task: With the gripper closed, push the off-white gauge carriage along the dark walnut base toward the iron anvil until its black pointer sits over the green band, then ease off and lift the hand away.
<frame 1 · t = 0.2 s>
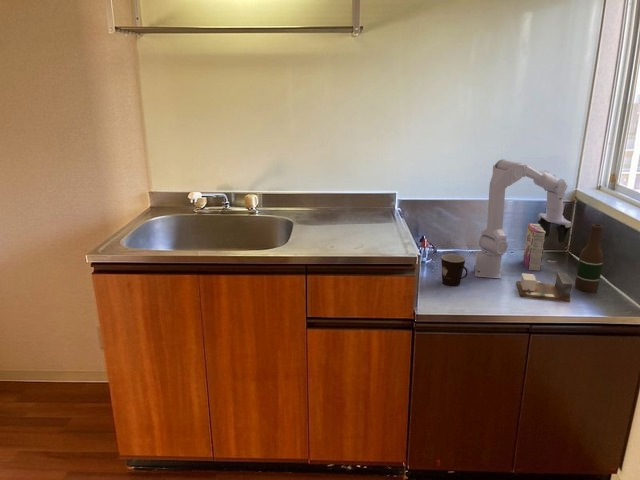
hand: (553, 239, 198), 11 cm above the countertop, tool pointing down, fingers open, 7 cm apart
gauge carriage: (531, 283, 173), point 4 cm above the countertop, slide at 0.0 cm
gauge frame: (541, 292, 174), on the countertop
coffee mug: (451, 285, 181), on the countertop
beer bottle: (585, 288, 177), on the countertop
candy bar box: (531, 266, 199), on the countertop
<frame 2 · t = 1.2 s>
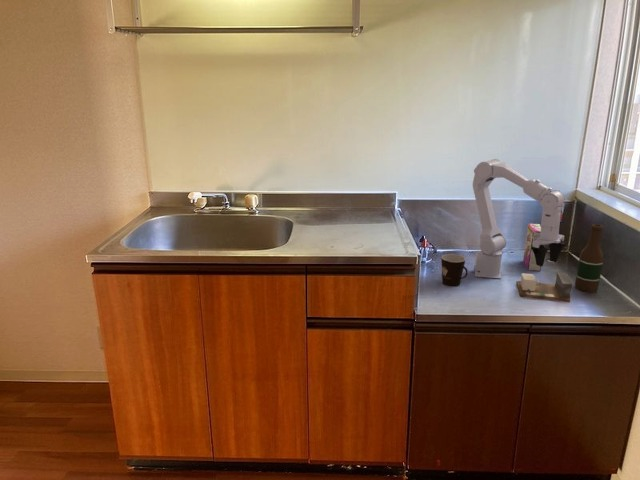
hand: (546, 263, 173), 10 cm above the countertop, tool pointing down, fingers open, 7 cm apart
nothing on the countertop moved.
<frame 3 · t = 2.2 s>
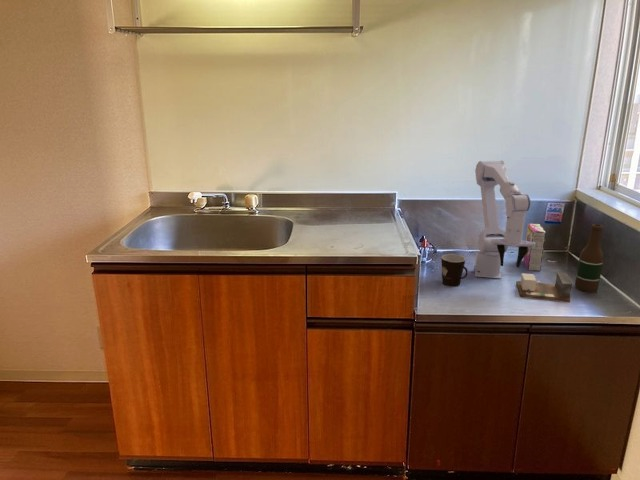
hand: (509, 265, 173), 9 cm above the countertop, tool pointing down, fingers open, 5 cm apart
nothing on the countertop moved.
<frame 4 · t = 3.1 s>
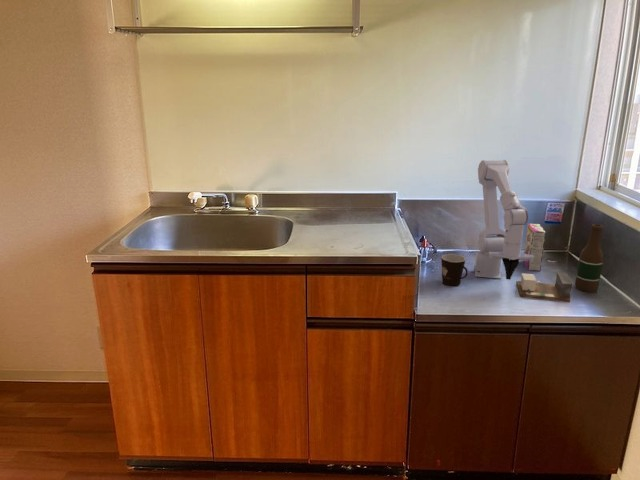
hand: (508, 278, 174), 5 cm above the countertop, tool pointing down, fingers closed
nothing on the countertop moved.
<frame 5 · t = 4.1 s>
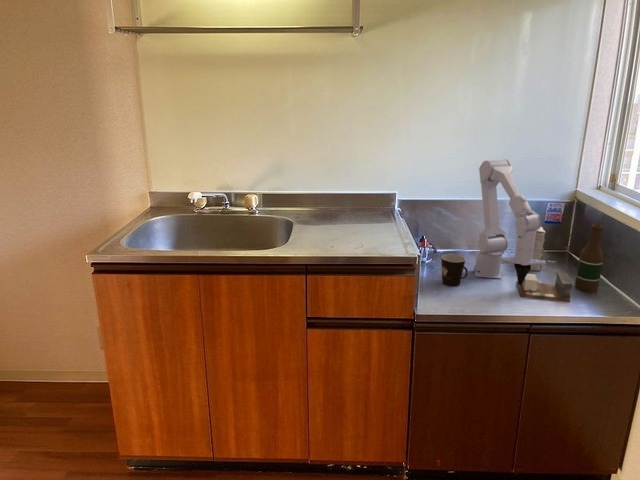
hand: (519, 283, 174), 3 cm above the countertop, tool pointing down, fingers closed
gauge carriage: (533, 284, 172), point 4 cm above the countertop, slide at 0.5 cm, touching gripper
everything else where it was.
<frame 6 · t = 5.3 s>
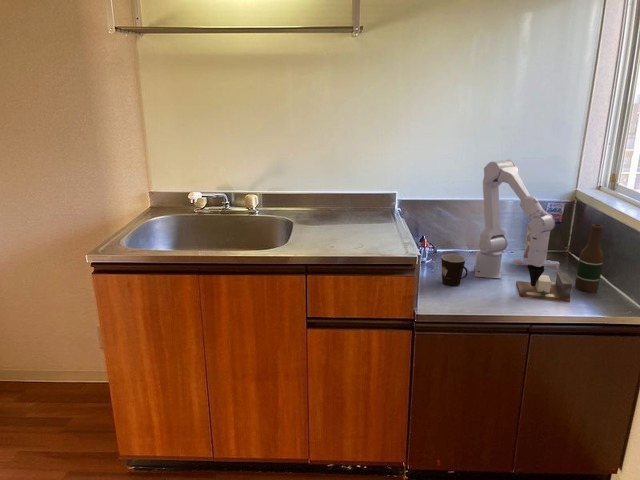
hand: (532, 285, 173), 3 cm above the countertop, tool pointing down, fingers closed
gauge carriage: (546, 285, 171), point 4 cm above the countertop, slide at 4.9 cm, touching gripper
everything else where it was.
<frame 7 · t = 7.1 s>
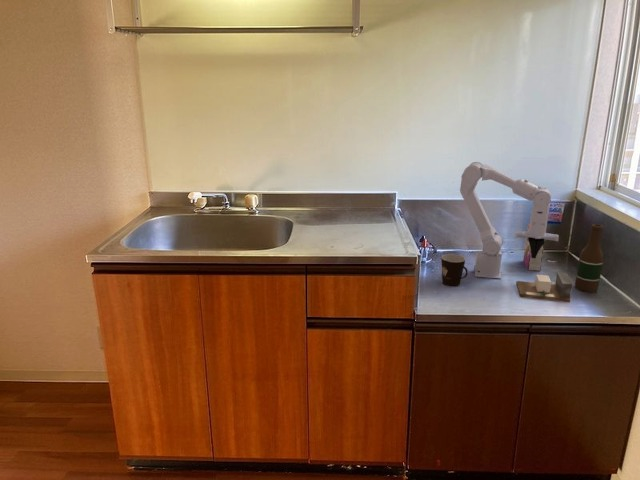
hand: (533, 257, 181), 9 cm above the countertop, tool pointing down, fingers closed
gauge carriage: (546, 285, 171), point 4 cm above the countertop, slide at 4.9 cm
everything else where it was.
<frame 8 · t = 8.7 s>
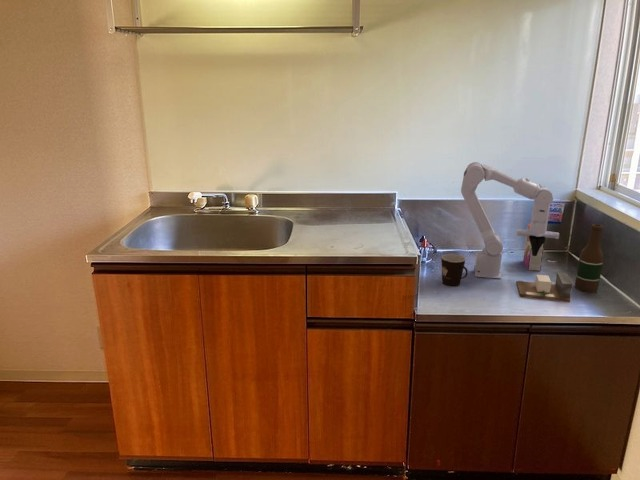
hand: (534, 255, 183), 9 cm above the countertop, tool pointing down, fingers closed
nothing on the countertop moved.
at the end: gauge carriage slide at 4.9 cm; the gripper is holding nothing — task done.
